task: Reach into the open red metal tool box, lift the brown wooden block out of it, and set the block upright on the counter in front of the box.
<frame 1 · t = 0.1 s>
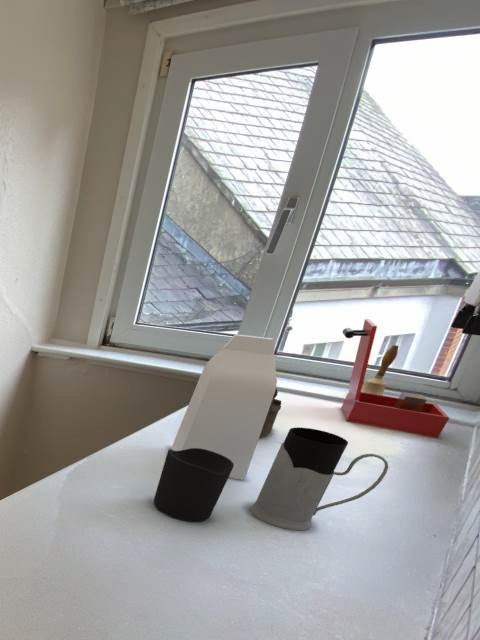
hand: (465, 331, 129), 25 cm above the counter, tool pointing down, fingers open, 9 cm apart
toolbox lid: (350, 359, 143), point 14 cm above the counter, hinge at 100.0°
block: (400, 421, 142), point 1 cm above the counter, touching toolbox
milk: (205, 463, 114), on the counter
glass holder: (298, 522, 93), on the counter
pen holder: (180, 510, 95), on the counter
hand bell: (367, 399, 163), on the counter
toolbox: (386, 422, 143), on the counter
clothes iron: (247, 431, 132), on the counter
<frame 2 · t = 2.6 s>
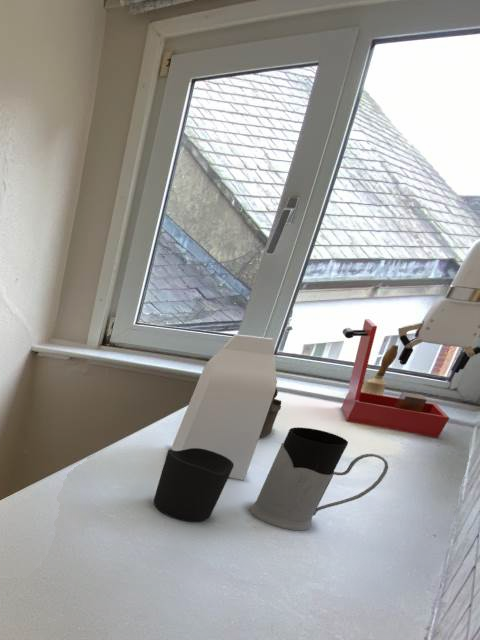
hand: (427, 367, 136), 15 cm above the counter, tool pointing down, fingers open, 9 cm apart
nothing on the counter moved.
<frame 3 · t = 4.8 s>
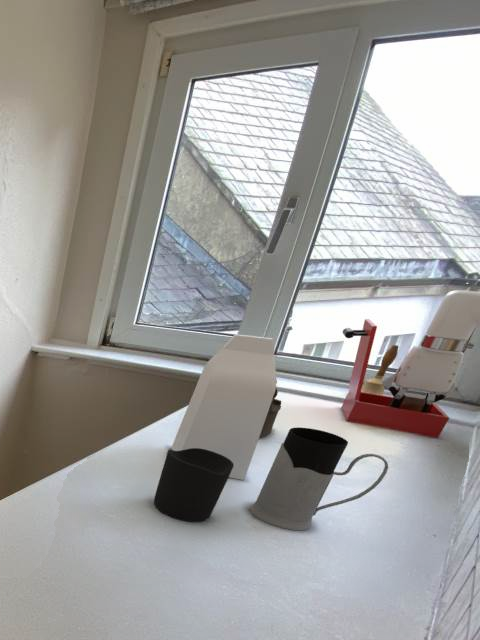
hand: (404, 414, 141), 3 cm above the counter, tool pointing down, fingers closed on block, 4 cm apart
block: (400, 421, 142), point 1 cm above the counter, touching gripper, toolbox
everything else where it was.
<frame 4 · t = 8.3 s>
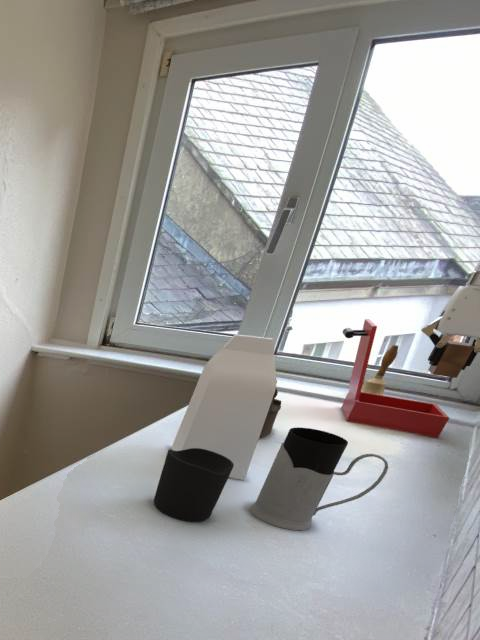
hand: (446, 365, 124), 18 cm above the counter, tool pointing down, fingers closed on block, 4 cm apart
block: (441, 374, 125), point 16 cm above the counter, touching gripper
everything else where it was.
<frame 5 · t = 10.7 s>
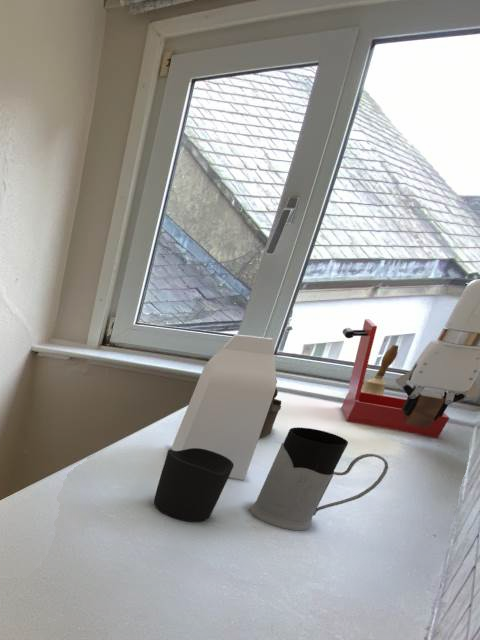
hand: (419, 415, 129), 6 cm above the counter, tool pointing down, fingers closed on block, 4 cm apart
block: (415, 423, 130), point 4 cm above the counter, touching gripper
everything else where it was.
when the fingers open (2 cm above the counter, at t = 12.1 s): block stays where it is, on the counter.
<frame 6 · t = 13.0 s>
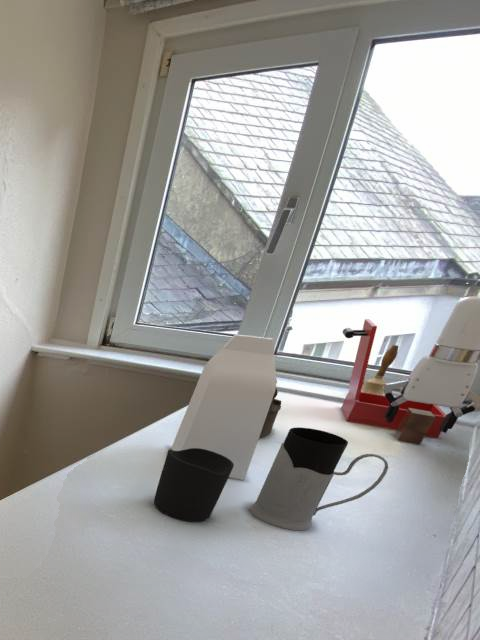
hand: (414, 425, 130), 4 cm above the counter, tool pointing down, fingers open, 9 cm apart
block: (406, 439, 132), on the counter
everything else where it was.
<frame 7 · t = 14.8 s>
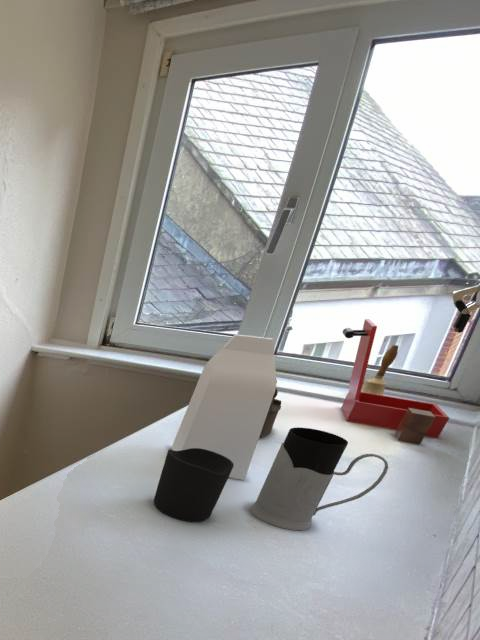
nothing on the counter moved.
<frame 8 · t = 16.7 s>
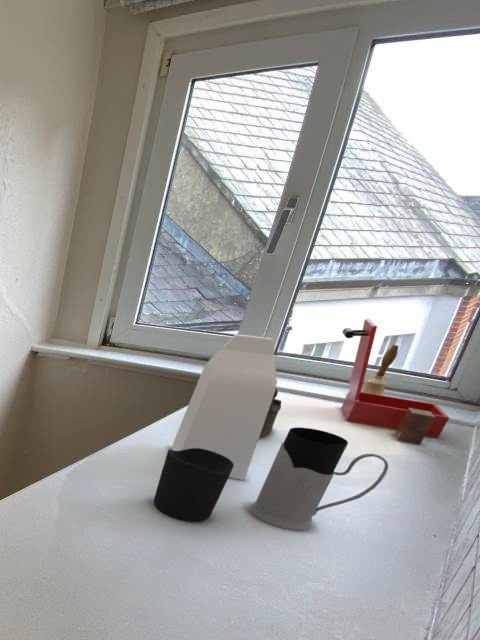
nothing on the counter moved.
at the end: block inside the target area (0.1 cm from its centre), on the counter; block tilted 0°; toolbox lid at +100° (first picture: +100°) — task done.
